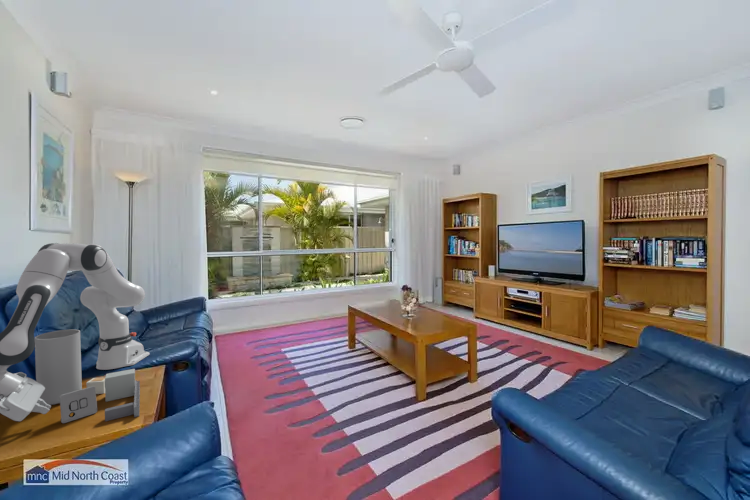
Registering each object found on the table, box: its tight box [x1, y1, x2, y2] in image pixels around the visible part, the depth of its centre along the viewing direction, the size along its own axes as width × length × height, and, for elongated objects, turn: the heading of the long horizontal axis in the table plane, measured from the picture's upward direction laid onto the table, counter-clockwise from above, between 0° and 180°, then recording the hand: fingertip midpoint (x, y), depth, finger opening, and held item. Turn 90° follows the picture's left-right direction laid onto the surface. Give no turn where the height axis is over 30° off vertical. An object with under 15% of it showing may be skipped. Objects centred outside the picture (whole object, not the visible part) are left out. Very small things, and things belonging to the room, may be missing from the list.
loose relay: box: [85, 376, 106, 395], centre depth 131 cm, size 4×6×5 cm, turn 101°
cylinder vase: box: [34, 329, 83, 406], centre depth 125 cm, size 12×12×25 cm
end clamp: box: [104, 401, 134, 422], centre depth 113 cm, size 2×8×4 cm, turn 126°
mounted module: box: [104, 368, 136, 403], centre depth 127 cm, size 5×9×9 cm, turn 126°
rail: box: [133, 379, 141, 418], centre depth 123 cm, size 24×2×4 cm, turn 36°
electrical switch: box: [59, 386, 98, 424], centre depth 113 cm, size 9×5×9 cm, turn 141°
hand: (48, 410), depth 109 cm, fingers closed
